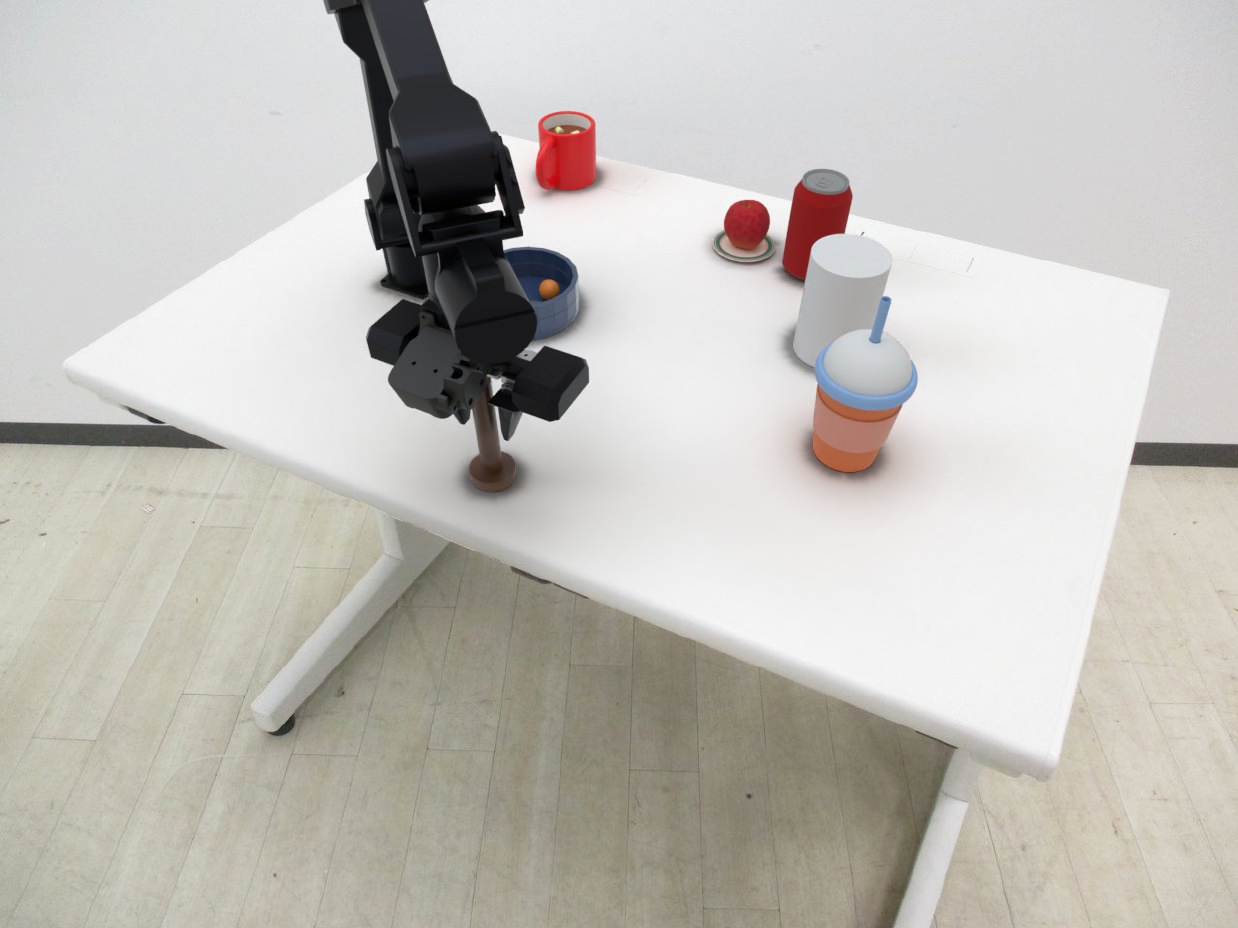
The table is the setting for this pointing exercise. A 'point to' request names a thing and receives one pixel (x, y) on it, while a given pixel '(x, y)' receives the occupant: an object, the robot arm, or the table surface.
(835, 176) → the beverage can
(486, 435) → the muddler
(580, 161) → the mug
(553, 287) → the bead
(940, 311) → the table surface
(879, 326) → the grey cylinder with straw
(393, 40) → the robot arm
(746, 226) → the apple
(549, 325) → the bowl
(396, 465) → the table surface
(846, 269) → the grey cylinder
